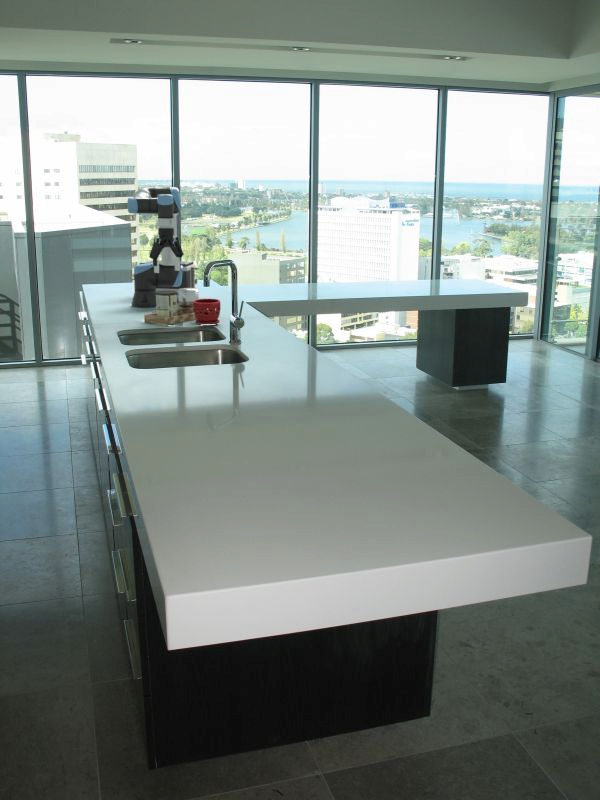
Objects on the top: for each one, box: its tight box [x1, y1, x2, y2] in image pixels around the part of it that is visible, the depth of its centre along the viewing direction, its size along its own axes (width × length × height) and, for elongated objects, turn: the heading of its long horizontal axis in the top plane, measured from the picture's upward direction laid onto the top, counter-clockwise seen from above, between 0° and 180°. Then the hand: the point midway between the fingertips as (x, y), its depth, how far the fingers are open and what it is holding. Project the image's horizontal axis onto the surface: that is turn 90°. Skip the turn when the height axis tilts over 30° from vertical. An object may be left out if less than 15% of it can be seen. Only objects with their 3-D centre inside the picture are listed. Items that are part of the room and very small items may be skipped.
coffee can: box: [155, 291, 178, 317], centre depth 410 cm, size 10×10×14 cm
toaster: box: [139, 259, 200, 299], centre depth 494 cm, size 18×34×21 cm, turn 82°
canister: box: [177, 287, 199, 314], centre depth 421 cm, size 10×10×14 cm
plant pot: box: [193, 298, 221, 325], centre depth 405 cm, size 13×13×12 cm
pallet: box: [143, 308, 197, 327], centre depth 417 cm, size 30×16×4 cm, turn 142°
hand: (167, 271), depth 406 cm, fingers open, 13 cm apart
